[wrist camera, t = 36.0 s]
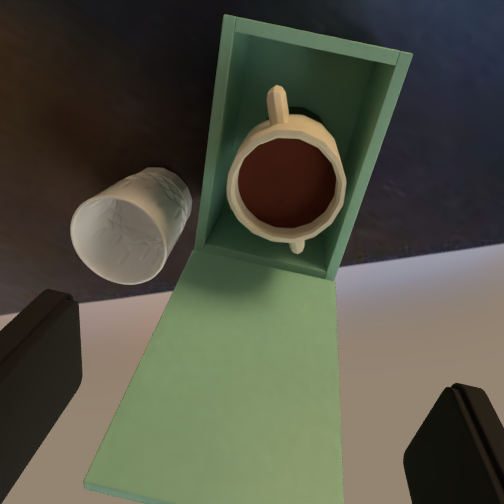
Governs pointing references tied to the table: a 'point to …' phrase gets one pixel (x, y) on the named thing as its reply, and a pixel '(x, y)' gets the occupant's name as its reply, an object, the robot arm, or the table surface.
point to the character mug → (287, 175)
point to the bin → (298, 95)
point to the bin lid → (232, 394)
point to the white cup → (132, 225)
